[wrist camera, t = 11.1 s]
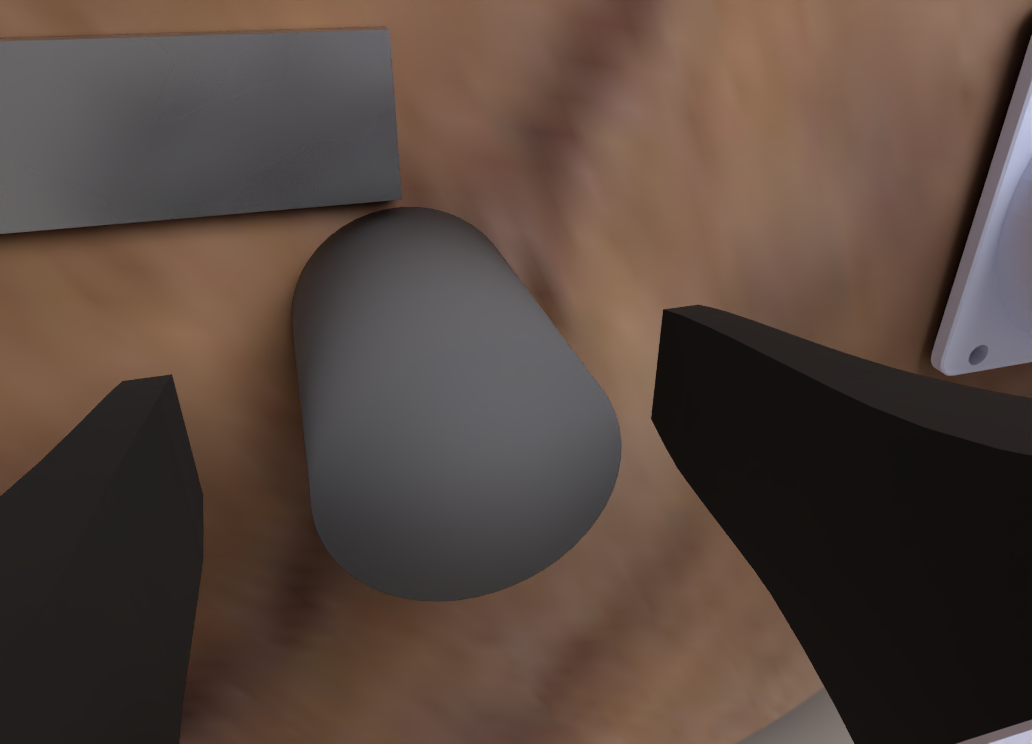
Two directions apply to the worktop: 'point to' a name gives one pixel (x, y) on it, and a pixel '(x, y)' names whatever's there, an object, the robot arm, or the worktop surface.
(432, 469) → the plug
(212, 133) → the rail
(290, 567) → the worktop surface
